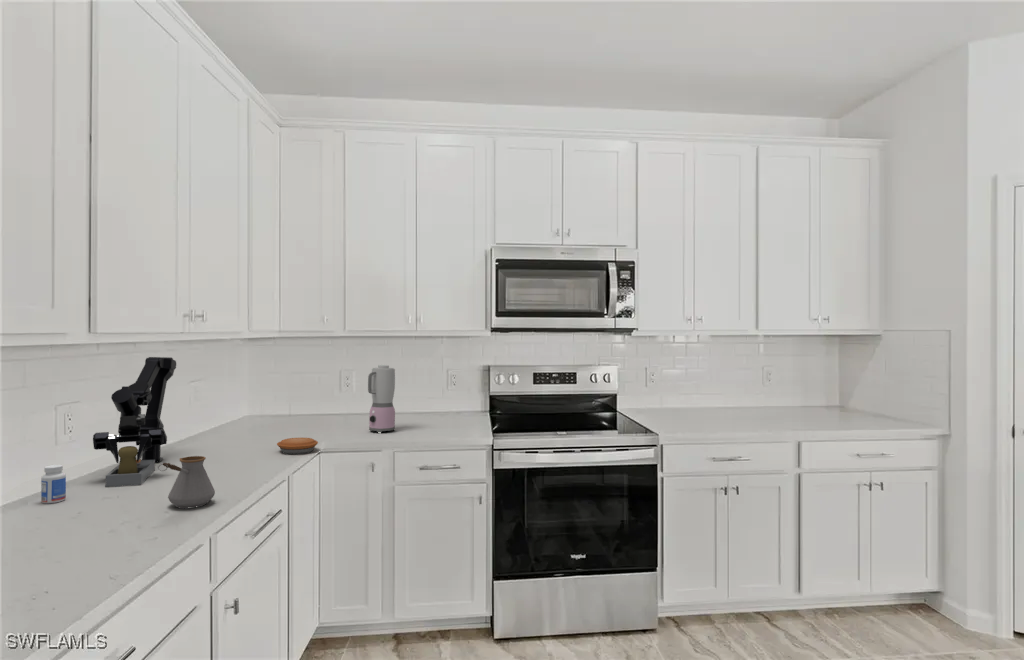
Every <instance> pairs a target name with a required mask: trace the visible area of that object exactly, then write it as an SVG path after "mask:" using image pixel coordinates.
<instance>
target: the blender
mask: <svg viewBox="0 0 1024 660" xmlns="http://www.w3.org/2000/svg"><path fill="white" fill-rule="evenodd" d="M395 371H396V369H395V368H394V367H390V366H389V365H387V364H386V365H385V364H384V365H383V364H381V365H380V364H378V366H377V367H372V369H371V372H370V373H369V374H368V376H367V378H368V379H367V392H368V393H369V394H371V399H372V403H371V407H370V409H369V416H368V417H369V420H368V421H369V422H368V424H369V426H368V428H369V429H368V430H371V431H374V432H375V431H376V433H377V432H386V431H393V430H394V429H395V430H396V424H395V423H396V410H395V407H394V404H393V401H394V396H395V395H394V394H395V389H396V372H395Z"/></svg>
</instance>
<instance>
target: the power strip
mask: <svg viewBox="0 0 1024 660" xmlns="http://www.w3.org/2000/svg"><path fill="white" fill-rule="evenodd" d="M136 462H137V470H138V473H131V474H118V468H119V464H117V466H115V467H114V468H113V469H112V470H111V471H109V472H108V473H106V475H105V485H104V486H105V488H109V487H108V486H115V487H125V486H124V485H131V486H141V484H144V483H145V481H146V480H147V479H148V478H149V477H150V476H151V474H153V472H154V471H155V470H154V469H155V466H156V462H155V460H142V458H140V460H139V461H137V459H136ZM153 470H154V471H153ZM149 475H150V476H149ZM148 476H149V477H148ZM147 477H148V478H147ZM146 478H147V479H146ZM145 479H146V480H145ZM122 485H123V486H122Z"/></svg>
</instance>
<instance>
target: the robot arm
mask: <svg viewBox="0 0 1024 660" xmlns="http://www.w3.org/2000/svg"><path fill="white" fill-rule="evenodd" d="M144 362H145V363H144V365H143V368H142V370H141V371H140V373H139V375H138V377H137V379H136V381H135V382H133V383H131V384H130V385H128V386H121V388H120V389H118V390H115V391H114V392H113V393H112V394H111V397H110V398H111V401H112V402H113V404H114V406H115V408H116V410H117V412H119V413H120V417H119V424H118V431H117V434H118V435H116V434H110V433H109V432H110V431H104V432H101V431H100V432H95V433H94V434H93V436H92V445H93V449H94V450H105V451H109V452H110V453H111V454H112V455H113V458H114V459H115V462H116V464H119V463H120V457H119V455H118V451H119V449H118V448H119V447H118V443H120V444H121V443H134V442H135V447H137V446H138V448H137V449H138V454H137V455H136V460H137V461H139V460H140V459H141V460H155V463H160V462H161V461H162V460H164V457H162V456H161V450H162V449H161V447H162V446H163V445H167V444H168V443H167V441H168V436H167V433H166V431H165V428H164V424H163V421H162V420H161V416H162V415H161V413H162V409H163V404H164V399H165V393H166V389H167V388H166V387H167V382H168V381H169V380H170V379H171V378H172V377H173V376H174V372H175V370H176V368H177V360H174V358H173V357H168V356H167V357H164V356H163V357H160V356H148V357H146V358H145V361H144ZM141 406H142V407H143V406H146V411H145V413H142V407H141Z"/></svg>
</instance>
